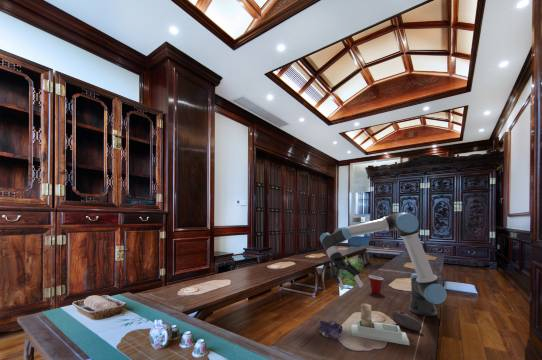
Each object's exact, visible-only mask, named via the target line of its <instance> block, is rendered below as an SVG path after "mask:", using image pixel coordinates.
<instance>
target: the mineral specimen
mask: <svg viewBox="0 0 542 360" xmlns="http://www.w3.org/2000/svg"><path fill="white" fill-rule="evenodd" d="M318 331H319V333H321V335H322V336H324V337H326V338H331V339H333V340H339V339H341V338H342V337H343V336H342V334H343V325H341V324H339V323H338V322H337V320H334V321H333V320H332V321H331V320H329V322H326V321H324V320H323V321H322V320H319V327H318Z"/></svg>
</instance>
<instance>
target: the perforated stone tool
mask: <svg viewBox="0 0 542 360" xmlns="http://www.w3.org/2000/svg"><path fill="white" fill-rule="evenodd" d="M392 320H393V322H394V323H395V324H396V325H397V326H399V327H400V326H401V327H402V328H403V327H404V328H406V329H409V330H411V331H414V332H420V331H421V330H422V329H423V327H422V325H421V322H420V321H419V320H418V319H416V318H415V317H413V316H412V315H409V314H407V313H406V312H403V311H400V310H394V311H393V312H392Z"/></svg>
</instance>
